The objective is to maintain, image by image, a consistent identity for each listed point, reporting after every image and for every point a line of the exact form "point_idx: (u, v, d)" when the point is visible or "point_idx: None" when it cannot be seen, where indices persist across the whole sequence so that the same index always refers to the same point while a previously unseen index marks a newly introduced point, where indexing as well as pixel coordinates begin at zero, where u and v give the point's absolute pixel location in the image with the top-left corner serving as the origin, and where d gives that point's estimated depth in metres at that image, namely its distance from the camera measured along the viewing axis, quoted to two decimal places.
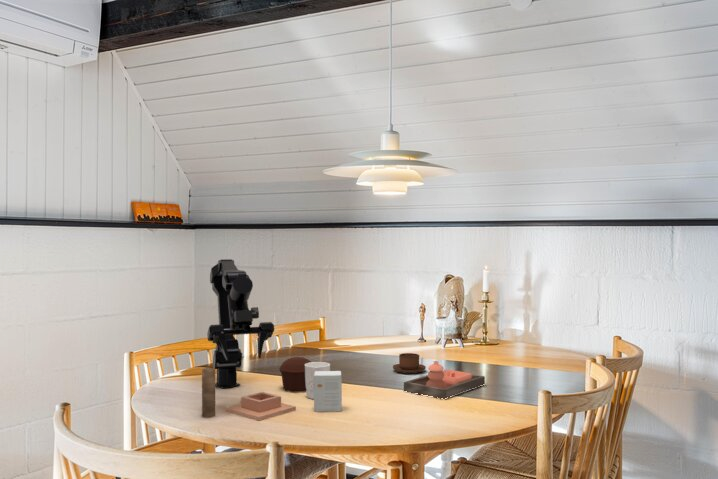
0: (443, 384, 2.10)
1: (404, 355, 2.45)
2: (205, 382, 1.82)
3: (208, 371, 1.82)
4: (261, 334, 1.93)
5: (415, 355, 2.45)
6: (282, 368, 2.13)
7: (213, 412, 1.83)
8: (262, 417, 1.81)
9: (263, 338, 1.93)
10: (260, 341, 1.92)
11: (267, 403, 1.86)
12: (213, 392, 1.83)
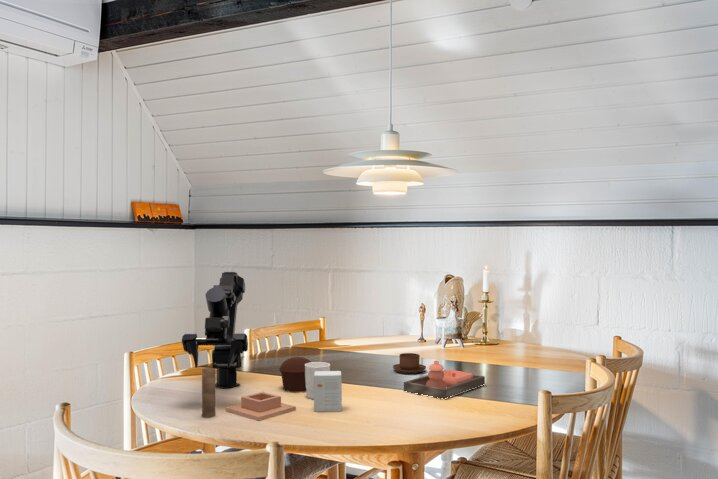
0: (443, 384, 2.11)
1: (404, 355, 2.45)
2: (205, 382, 1.82)
3: (208, 371, 1.82)
4: (232, 344, 1.93)
5: (415, 355, 2.45)
6: (282, 368, 2.13)
7: (213, 412, 1.83)
8: (262, 417, 1.81)
9: (234, 348, 1.93)
10: (231, 351, 1.93)
11: (267, 403, 1.86)
12: (213, 392, 1.83)
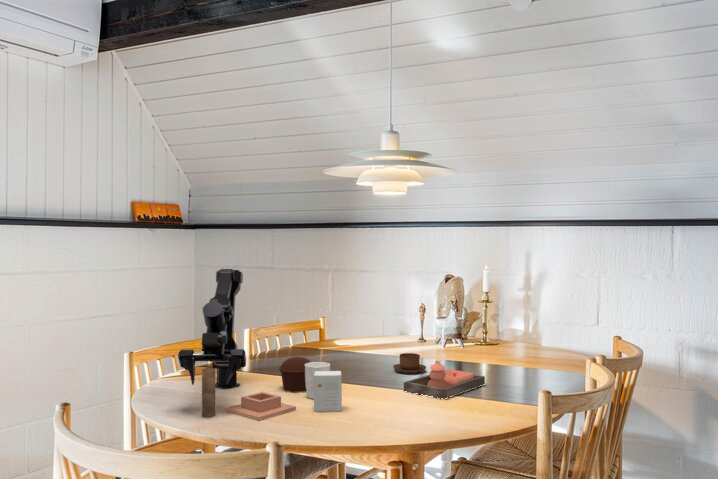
0: (444, 384, 2.11)
1: (404, 355, 2.45)
2: (205, 382, 1.82)
3: (208, 371, 1.82)
4: (230, 360, 1.88)
5: (415, 355, 2.45)
6: (282, 368, 2.13)
7: (213, 412, 1.83)
8: (262, 417, 1.81)
9: (232, 364, 1.88)
10: (228, 367, 1.88)
11: (267, 403, 1.86)
12: (213, 392, 1.83)
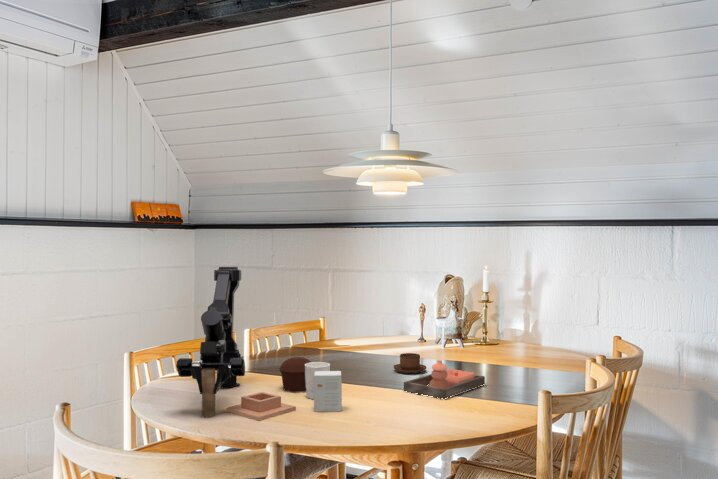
0: (446, 383, 2.12)
1: (405, 355, 2.45)
2: (205, 382, 1.82)
3: (208, 371, 1.82)
4: (219, 369, 1.86)
5: (416, 355, 2.44)
6: (282, 368, 2.13)
7: (213, 412, 1.83)
8: (262, 417, 1.81)
9: (221, 373, 1.86)
10: (218, 376, 1.85)
11: (267, 403, 1.86)
12: (213, 392, 1.83)
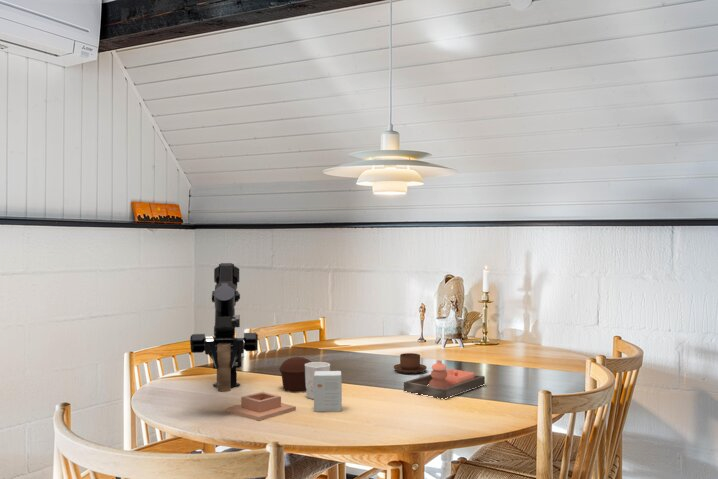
0: (446, 383, 2.12)
1: (405, 355, 2.45)
2: (221, 357, 1.83)
3: (224, 345, 1.83)
4: (234, 343, 1.87)
5: (416, 355, 2.44)
6: (282, 368, 2.13)
7: (229, 386, 1.84)
8: (262, 417, 1.81)
9: (236, 348, 1.87)
10: (233, 351, 1.86)
11: (267, 403, 1.86)
12: (229, 366, 1.84)
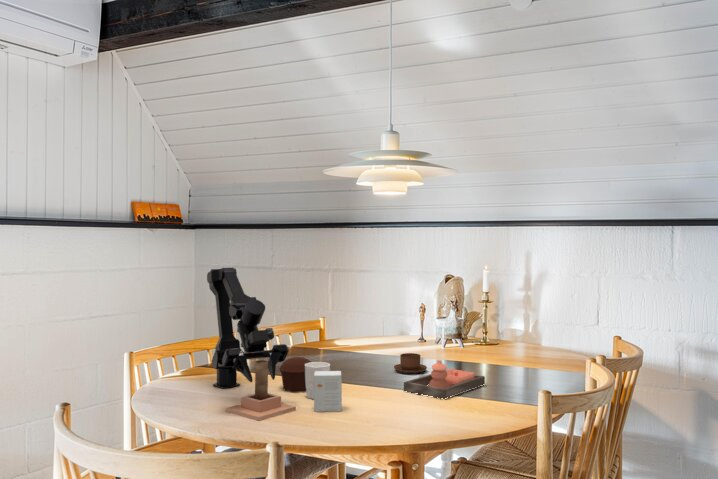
0: (446, 383, 2.12)
1: (405, 355, 2.45)
2: (261, 375, 1.87)
3: (264, 364, 1.88)
4: (273, 355, 1.93)
5: (416, 355, 2.44)
6: (282, 368, 2.13)
7: None
8: (262, 417, 1.81)
9: (275, 359, 1.93)
10: (272, 362, 1.92)
11: (267, 403, 1.86)
12: (267, 383, 1.89)
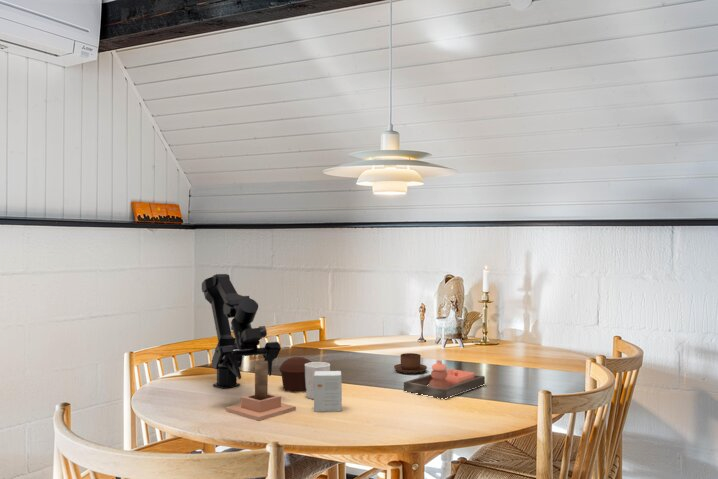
0: (446, 383, 2.12)
1: (405, 355, 2.45)
2: (261, 374, 1.88)
3: (264, 363, 1.88)
4: (269, 352, 1.98)
5: (416, 355, 2.44)
6: (282, 368, 2.13)
7: None
8: (262, 417, 1.81)
9: (271, 356, 1.99)
10: (269, 359, 1.98)
11: (267, 403, 1.86)
12: (267, 383, 1.89)
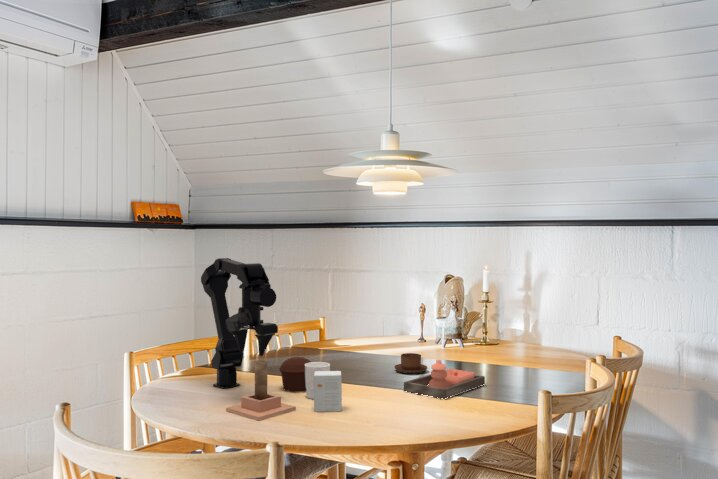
0: (446, 383, 2.12)
1: (406, 355, 2.45)
2: (261, 375, 1.88)
3: (263, 363, 1.88)
4: None
5: (417, 355, 2.44)
6: (282, 368, 2.13)
7: None
8: (262, 417, 1.81)
9: (260, 340, 2.01)
10: (258, 342, 2.02)
11: (267, 403, 1.86)
12: (266, 383, 1.89)
